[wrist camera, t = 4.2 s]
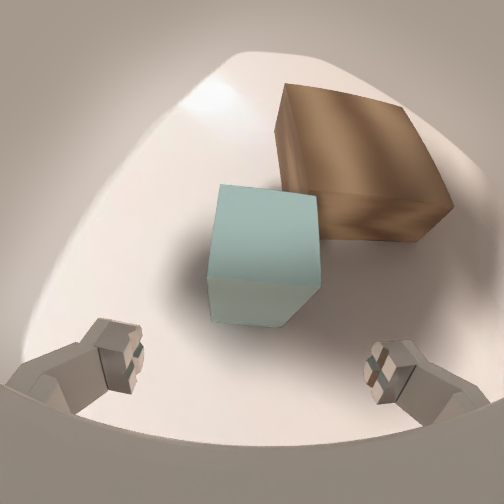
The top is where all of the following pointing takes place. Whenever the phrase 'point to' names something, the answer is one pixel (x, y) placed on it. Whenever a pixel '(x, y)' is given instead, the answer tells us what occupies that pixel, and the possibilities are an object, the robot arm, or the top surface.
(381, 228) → the walnut block
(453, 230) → the top surface
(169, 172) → the top surface
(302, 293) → the tea tin
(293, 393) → the top surface
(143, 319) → the top surface
